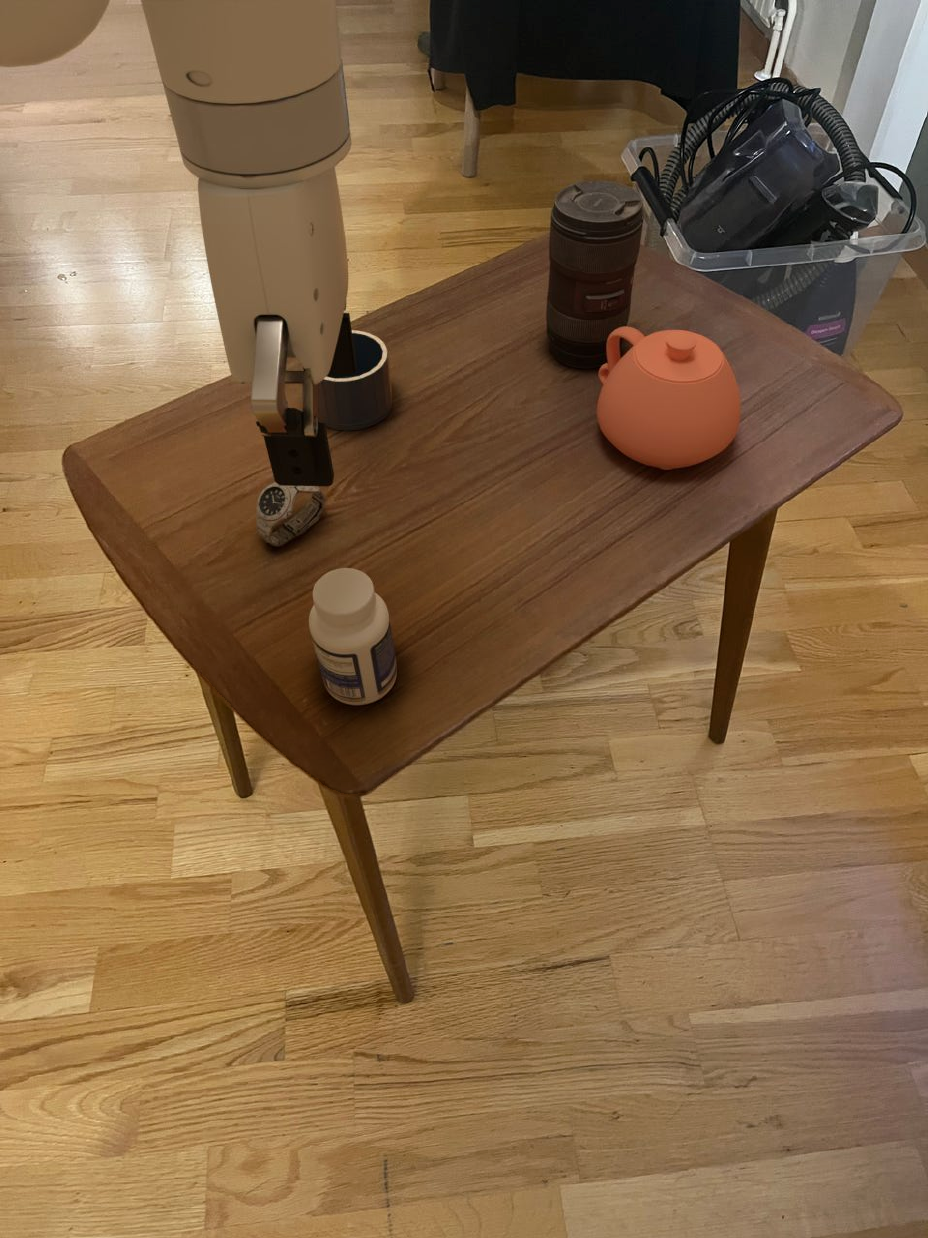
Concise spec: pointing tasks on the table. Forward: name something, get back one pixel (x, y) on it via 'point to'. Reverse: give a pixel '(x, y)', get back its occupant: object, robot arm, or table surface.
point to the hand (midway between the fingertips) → (318, 424)
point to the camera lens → (591, 268)
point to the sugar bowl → (667, 398)
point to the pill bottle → (352, 637)
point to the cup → (358, 388)
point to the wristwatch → (286, 512)
